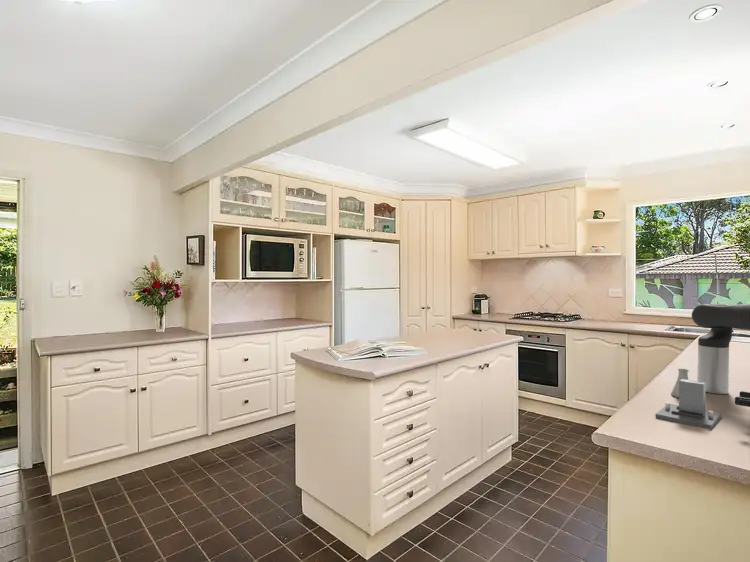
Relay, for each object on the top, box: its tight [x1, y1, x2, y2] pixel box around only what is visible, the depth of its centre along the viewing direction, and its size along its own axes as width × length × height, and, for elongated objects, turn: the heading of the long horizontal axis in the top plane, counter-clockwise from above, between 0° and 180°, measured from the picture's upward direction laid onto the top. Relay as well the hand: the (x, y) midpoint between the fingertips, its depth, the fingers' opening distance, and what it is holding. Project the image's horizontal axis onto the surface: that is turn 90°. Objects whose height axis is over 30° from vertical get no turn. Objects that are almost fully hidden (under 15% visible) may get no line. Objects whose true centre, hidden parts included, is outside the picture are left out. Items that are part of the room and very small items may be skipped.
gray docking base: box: [655, 402, 722, 430], centre depth 131 cm, size 14×16×3 cm
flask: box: [670, 367, 690, 398], centre depth 154 cm, size 7×7×10 cm
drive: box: [678, 379, 707, 418], centre depth 130 cm, size 6×4×10 cm, turn 44°
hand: (737, 397), depth 122 cm, fingers open, 8 cm apart
